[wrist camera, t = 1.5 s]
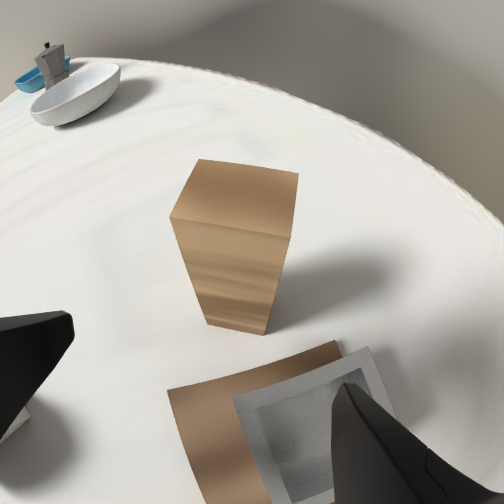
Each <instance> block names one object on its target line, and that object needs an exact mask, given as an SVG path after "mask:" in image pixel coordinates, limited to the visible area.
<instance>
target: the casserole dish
mask: <svg viewBox="0 0 504 504" xmlns="http://www.w3.org/2000/svg"><path fill="white" fill-rule="evenodd" d="M69 60H70V56H65V65H64V66H65V70H66V71H68V68H69ZM14 83H15V85H16V86H17V87H18V88H19V89H20V90H21V91H24V92H28V93H33V92H36V91H38V90H39V89H41V88H43V87H44V86H45V80H44V76H42V74H41V72H40V70H39V68H38V66H36V67H35V68H33V69H31V70H30V71H28V72H27V73H25V74H24V75H22V76H21V77H20V78H18V79H17V80H16V81H15V82H14Z"/></svg>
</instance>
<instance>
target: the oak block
mask: <svg viewBox="0 0 504 504" xmlns="http://www.w3.org/2000/svg"><path fill="white" fill-rule="evenodd" d="M298 175H299V173H293V172H288V171H282V170H276V169H270V168H264V167H257V166H251V165H244V164H236V163H229V162H220V161H212V160H202V159H199V160H198V162H197V163H196V165H195V167H194V169H193V171H192V173H191V175H190V177H189V178H188V180H187V182H186V184H185V186H184V188H183V190H182V192H181V194H180V196H179V198H178V200H177V202H176V204H175V206H174V208H173V210H172V212H171V214H170V216H169V217H170V221H171V224H172V227H173V230H174V233H175V236H176V239H177V242H178V245H179V248H180V251H181V254H182V257H183V260H184V263H185V266H186V268H187V271H188V274H189V277H190V280H191V282H192V285H193V288H194V291H195V293H196V296H197V299H198V301H199V304H200V306H201V309H202V312H203V314H204V317H205V319H206V322H207V324H209V325H214V326H218V327H223V328H227V329H232V330H237V331H241V332H246V333H252V334H257V335H262V336H264V333H265V330H266V326H267V323H268V319H269V316H270V312H271V309H272V305H273V301H274V298H275V294H276V291H277V287H278V283H279V280H280V276H281V272H282V268H283V265H284V261H285V257H286V253H287V249H288V246H289V242H290V238H291V231H292V223H293V216H294V208H295V200H296V192H297V184H298Z"/></svg>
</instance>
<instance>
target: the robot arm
mask: <svg viewBox="0 0 504 504" xmlns="http://www.w3.org/2000/svg"><path fill="white" fill-rule="evenodd" d="M74 337H75V333H74V326H73V319H72V316H71V315H70V314H69V313H67V312H65V311H62V310H61V311H53V312H45V313H37V314H29V315H21V316H12V317H3V318H0V440H1V439H2V437H3V436H4V434H5V433H6V431H7V430H8V429H9V427H10V426H11V424H12V423H13V421H14V420H15V419H16V417H17V416H18V415H19V413H20V412H21V410H22V409H23V408H24V406H25V405H26V404H27V402H28V401H29V400H30V399H31V397H32V396H33V395H34V393H35V392H36V391H37V389H38V388H39V387H40V386H41V384H42V383H43V382H44V381H45V379H46V378H47V377H48V376H49V375H50V373H51V372H52V371H53V369H54V368H55V367H56V365H57V364H58V362H59V361H60V359H61V358H62V356H63V355H64V353H65V352H66V350H67V349H68V347H69V346H70V345H71V343H72V342H73V340H74ZM331 459H332V470H333V483H334V499H335V504H504V493H497V492H493V491H490V490H488V489H486V488H485V487H483V486H482V485H480V484H478V483H477V482H475V481H473V480H472V479H470V478H469V477H467V476H466V475H464V474H462V473H461V472H459V471H458V470H457V469H455V468H454V467H452V466H451V465H449V464H448V463H447V462H446V461H444V460H443V459H442V458H440V457H439V456H438V455H437V454H436V453H434V452H433V451H432V450H431V449H430V448H428V447H427V446H426V445H425V444H424V443H423V442H421V441H420V440H419V439H418V438H417V437H416V436H414V435H413V434H412V433H411V432H410V431H409V430H408V429H406V428H405V427H404V426H403V425H402V424H401V423H400V422H398V421H397V420H396V419H395V418H394V417H393V416H392V415H391V414H389V413H388V412H387V411H386V410H385V409H384V408H383V407H382V406H380V405H379V404H378V403H377V402H376V401H375V400H374V399H373V398H372V397H370V396H369V395H368V394H367V393H366V392H365V391H364V390H363V389H362V388H361V387H359V386H358V385H357V384H356V383H349V382H344V383H342V384H341V385H340V387H339V390H338V392H337V394H336V396H335V398H334V401H333V403H332V417H331Z"/></svg>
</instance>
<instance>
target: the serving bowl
mask: <svg viewBox="0 0 504 504" xmlns="http://www.w3.org/2000/svg"><path fill="white" fill-rule="evenodd" d="M120 74H121V73H120V66H119V65H118V64H104V65H99V66H96V67H92V68H89V69H86V70H83V71H81V72H79V73H76V74H74V75H72V76H70V77H68V78H66V79H64V80H62V81H61V82H59V83H57V84H56V85H54V86H53V87H51V88H50V89H48V90H47V91H46V92H45V93H43V94H42V95H41V96H40V97H39V98H38V99H37V100H36V101H35V102H34V103H33V105H32V106H31V108H30V113H31V115H32V116H33V118H34V119H35V120H36V121H37V122H38V123H40V124H42V125H45V126H58V125H63V124H66V123H69V122H72V121H74V120H76V119H79V118H81V117H83V116H85V115H87V114H88V113H90V112H92V111H93V110H95V109H96V108H98V107H99V106H101V105H102V104H103V103H104V102H106V101H107V100H108V99H109V98H110V97H111V96H112V94H113V93H114V92H115V90H116V89H117V87H118V84H119V81H120Z"/></svg>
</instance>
